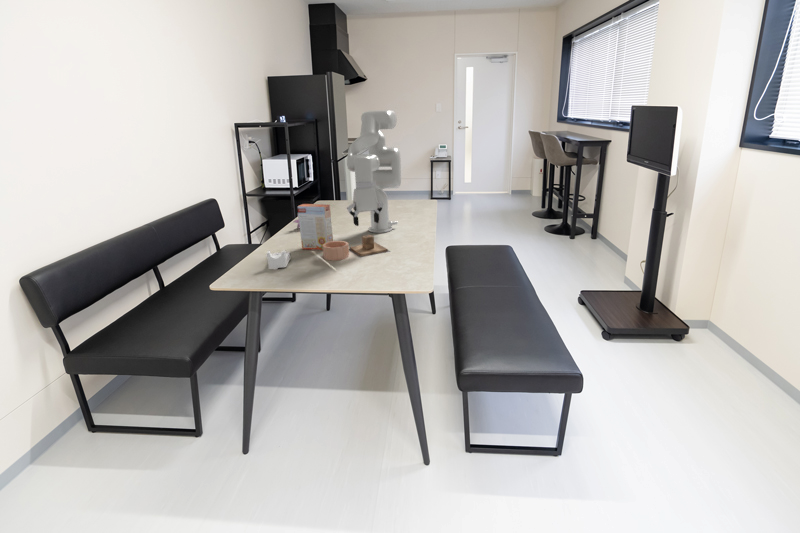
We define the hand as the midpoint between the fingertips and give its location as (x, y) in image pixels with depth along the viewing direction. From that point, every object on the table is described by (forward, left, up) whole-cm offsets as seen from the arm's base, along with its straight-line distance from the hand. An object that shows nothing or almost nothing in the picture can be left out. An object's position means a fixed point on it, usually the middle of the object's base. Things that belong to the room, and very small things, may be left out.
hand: (366, 223), depth 208 cm
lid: (0, -1, -12) cm, 12 cm away
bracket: (+39, -6, -14) cm, 42 cm away
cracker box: (+18, -19, -13) cm, 29 cm away
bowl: (+15, -1, -13) cm, 20 cm away
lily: (+11, -59, -13) cm, 62 cm away
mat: (0, -1, -13) cm, 13 cm away
